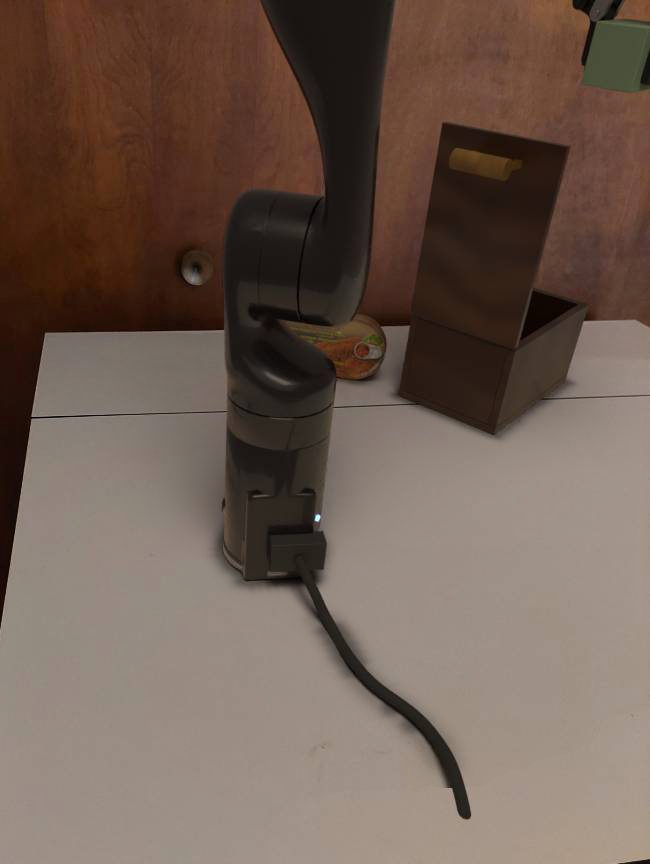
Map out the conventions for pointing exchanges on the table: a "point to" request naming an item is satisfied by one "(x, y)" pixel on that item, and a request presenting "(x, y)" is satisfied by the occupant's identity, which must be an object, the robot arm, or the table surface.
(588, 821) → the table surface
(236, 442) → the robot arm
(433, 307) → the lid
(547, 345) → the chest
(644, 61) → the block
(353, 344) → the tin
